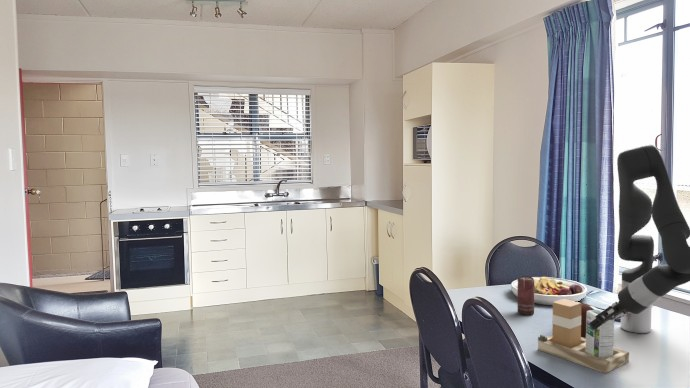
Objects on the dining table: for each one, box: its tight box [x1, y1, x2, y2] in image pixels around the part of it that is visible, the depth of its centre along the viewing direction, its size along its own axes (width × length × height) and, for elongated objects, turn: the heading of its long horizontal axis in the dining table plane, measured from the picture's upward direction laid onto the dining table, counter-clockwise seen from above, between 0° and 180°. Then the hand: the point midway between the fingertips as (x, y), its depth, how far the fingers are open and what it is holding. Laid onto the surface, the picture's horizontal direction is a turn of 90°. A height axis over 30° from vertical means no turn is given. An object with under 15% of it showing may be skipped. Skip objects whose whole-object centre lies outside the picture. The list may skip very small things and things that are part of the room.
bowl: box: [510, 276, 588, 306], centre depth 223 cm, size 30×30×8 cm
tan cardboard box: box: [551, 299, 582, 348], centre depth 165 cm, size 6×6×15 cm
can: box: [517, 276, 535, 317], centre depth 201 cm, size 6×6×14 cm
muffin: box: [580, 302, 595, 338], centre depth 180 cm, size 12×11×10 cm
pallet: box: [537, 334, 630, 374], centre depth 161 cm, size 13×22×5 cm, turn 34°
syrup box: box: [585, 309, 615, 359], centre depth 156 cm, size 6×6×14 cm
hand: (600, 323), depth 156 cm, fingers open, 8 cm apart
